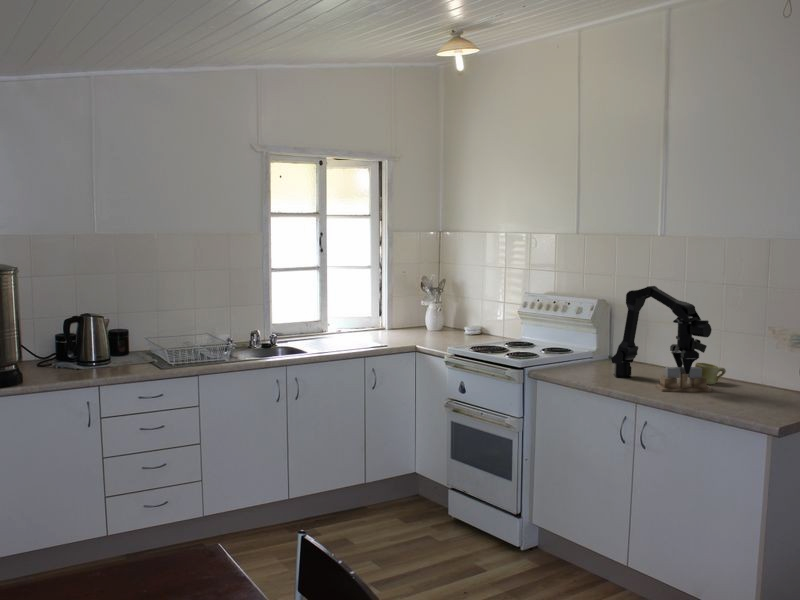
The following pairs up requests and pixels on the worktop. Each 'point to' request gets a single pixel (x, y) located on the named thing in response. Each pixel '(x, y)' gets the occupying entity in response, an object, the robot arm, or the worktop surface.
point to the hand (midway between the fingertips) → (683, 371)
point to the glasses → (683, 371)
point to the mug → (711, 372)
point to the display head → (683, 384)
